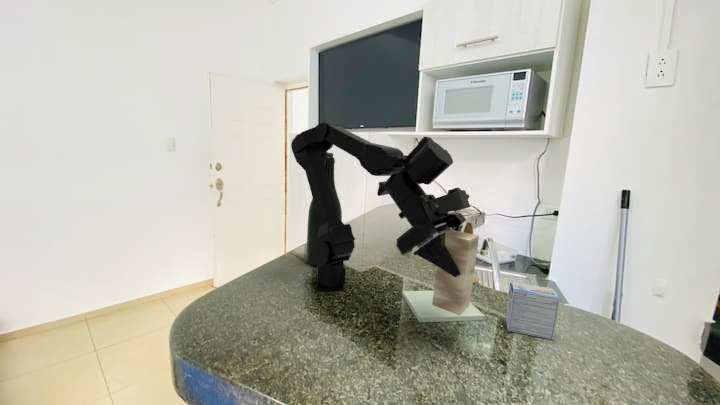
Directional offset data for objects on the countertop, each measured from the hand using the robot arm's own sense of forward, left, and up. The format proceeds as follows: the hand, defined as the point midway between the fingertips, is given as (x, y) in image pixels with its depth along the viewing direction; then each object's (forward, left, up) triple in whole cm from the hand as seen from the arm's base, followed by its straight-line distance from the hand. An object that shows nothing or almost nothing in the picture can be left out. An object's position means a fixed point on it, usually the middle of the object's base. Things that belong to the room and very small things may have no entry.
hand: (463, 271), depth 51 cm
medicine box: (+17, +3, -14) cm, 22 cm away
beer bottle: (-22, +42, -13) cm, 49 cm away
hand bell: (+17, +29, -14) cm, 36 cm away
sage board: (+3, +13, -13) cm, 19 cm away
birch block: (-1, +1, -7) cm, 7 cm away
